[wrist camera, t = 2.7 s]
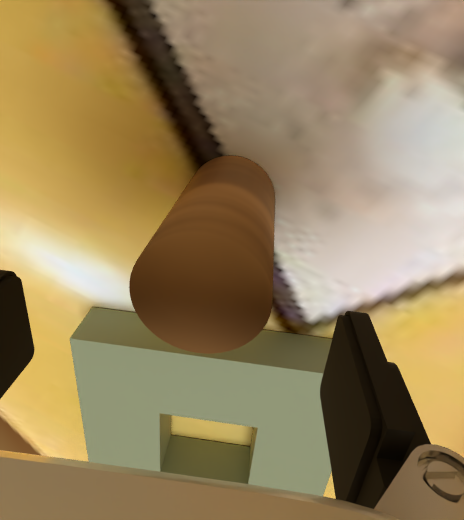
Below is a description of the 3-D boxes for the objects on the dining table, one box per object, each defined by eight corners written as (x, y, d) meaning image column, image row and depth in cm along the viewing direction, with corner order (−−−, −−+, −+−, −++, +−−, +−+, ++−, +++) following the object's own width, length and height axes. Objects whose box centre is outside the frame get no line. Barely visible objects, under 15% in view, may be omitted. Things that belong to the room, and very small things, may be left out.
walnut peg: (190, 150, 19) (126, 223, 11) (280, 160, 18) (282, 242, 11) (187, 232, 21) (132, 344, 13) (268, 242, 21) (263, 361, 13)
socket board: (92, 306, 24) (69, 338, 21) (353, 341, 23) (362, 379, 20) (110, 465, 32) (95, 503, 29) (306, 496, 31) (308, 537, 28)
